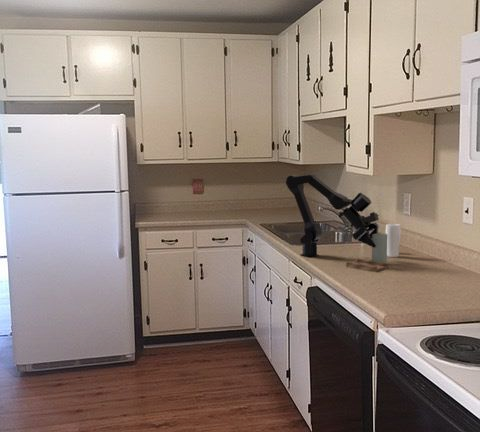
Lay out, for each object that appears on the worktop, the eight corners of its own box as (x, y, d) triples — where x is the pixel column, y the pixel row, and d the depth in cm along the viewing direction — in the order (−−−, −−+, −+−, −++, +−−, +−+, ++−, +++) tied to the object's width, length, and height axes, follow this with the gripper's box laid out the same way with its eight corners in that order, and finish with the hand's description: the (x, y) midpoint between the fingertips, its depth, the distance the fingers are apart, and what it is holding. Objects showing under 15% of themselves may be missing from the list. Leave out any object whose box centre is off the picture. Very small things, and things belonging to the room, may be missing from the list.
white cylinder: (388, 254, 259) (389, 223, 257) (402, 256, 255) (403, 224, 253) (382, 256, 254) (383, 224, 252) (396, 258, 250) (397, 226, 248)
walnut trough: (346, 266, 233) (346, 262, 233) (358, 263, 240) (358, 258, 240) (375, 272, 224) (375, 267, 223) (387, 267, 231) (387, 263, 230)
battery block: (371, 264, 238) (372, 232, 237) (375, 262, 243) (376, 231, 241) (382, 265, 236) (383, 233, 234) (386, 263, 240) (387, 232, 238)
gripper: (360, 208, 231) (385, 236, 227) (374, 204, 247) (398, 230, 242) (342, 225, 237) (366, 253, 232) (357, 220, 252) (380, 246, 248)
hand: (378, 245), depth 238 cm, fingers open, 9 cm apart
